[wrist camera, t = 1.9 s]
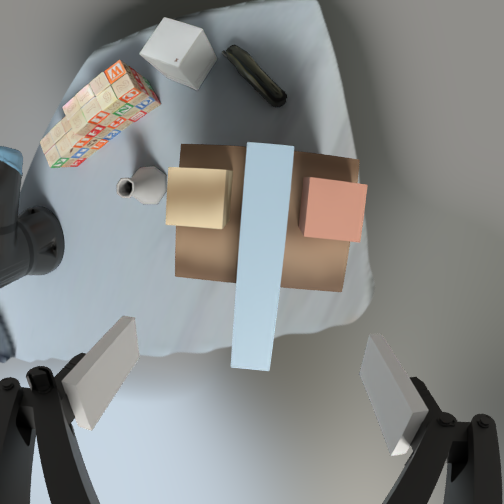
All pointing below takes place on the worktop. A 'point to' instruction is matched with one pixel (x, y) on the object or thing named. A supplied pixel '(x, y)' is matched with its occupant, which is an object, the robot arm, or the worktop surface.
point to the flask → (144, 185)
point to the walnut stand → (296, 245)
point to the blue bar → (261, 252)
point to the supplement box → (180, 52)
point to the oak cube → (198, 197)
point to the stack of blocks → (98, 115)
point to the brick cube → (332, 209)
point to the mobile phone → (256, 76)
